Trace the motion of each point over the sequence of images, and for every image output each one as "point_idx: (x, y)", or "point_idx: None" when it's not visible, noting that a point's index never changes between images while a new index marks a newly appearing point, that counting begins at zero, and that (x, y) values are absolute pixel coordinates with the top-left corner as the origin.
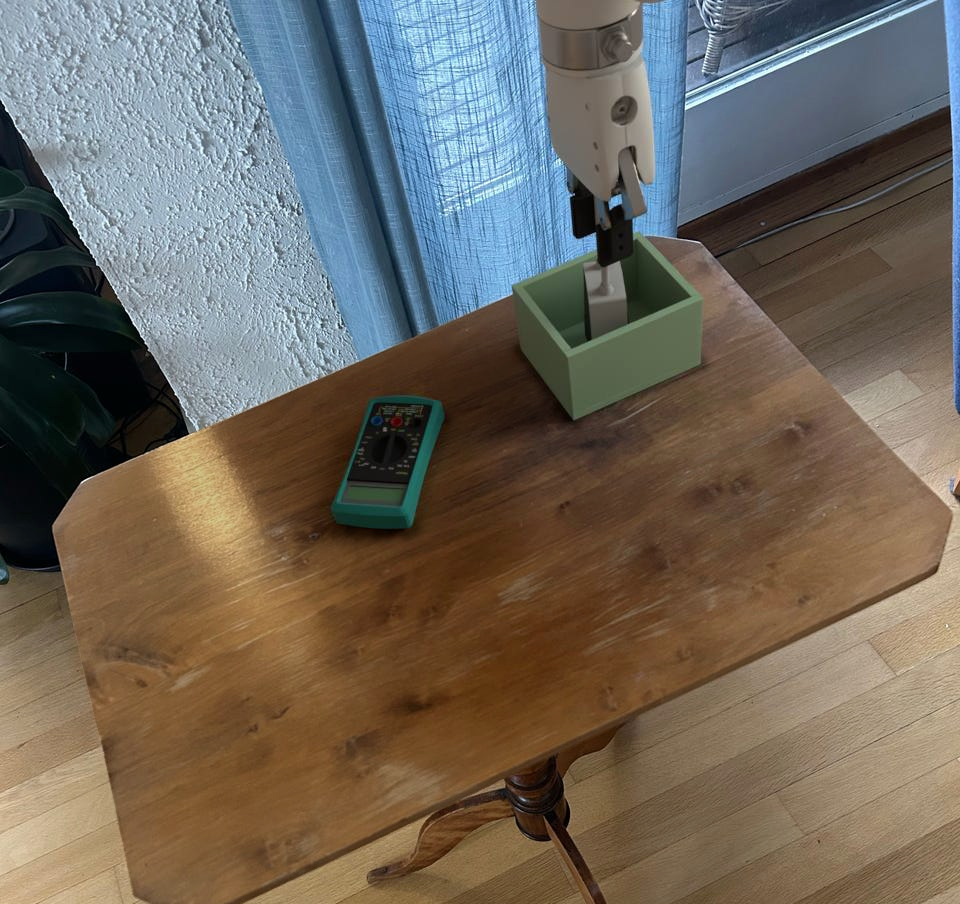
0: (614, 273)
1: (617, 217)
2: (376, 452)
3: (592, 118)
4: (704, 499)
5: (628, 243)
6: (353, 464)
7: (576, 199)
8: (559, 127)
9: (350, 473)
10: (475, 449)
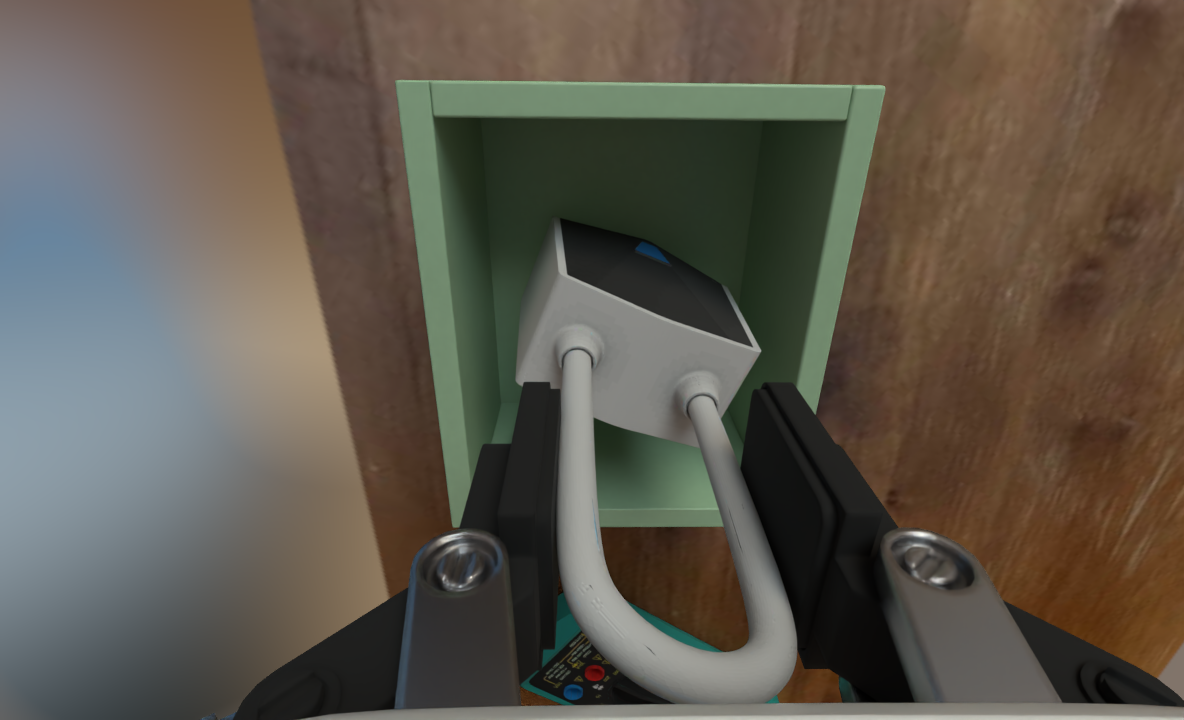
0: (649, 342)
1: None
2: (627, 695)
3: None
4: (1085, 301)
5: (855, 468)
6: None
7: (541, 647)
8: None
9: None
10: (682, 558)
